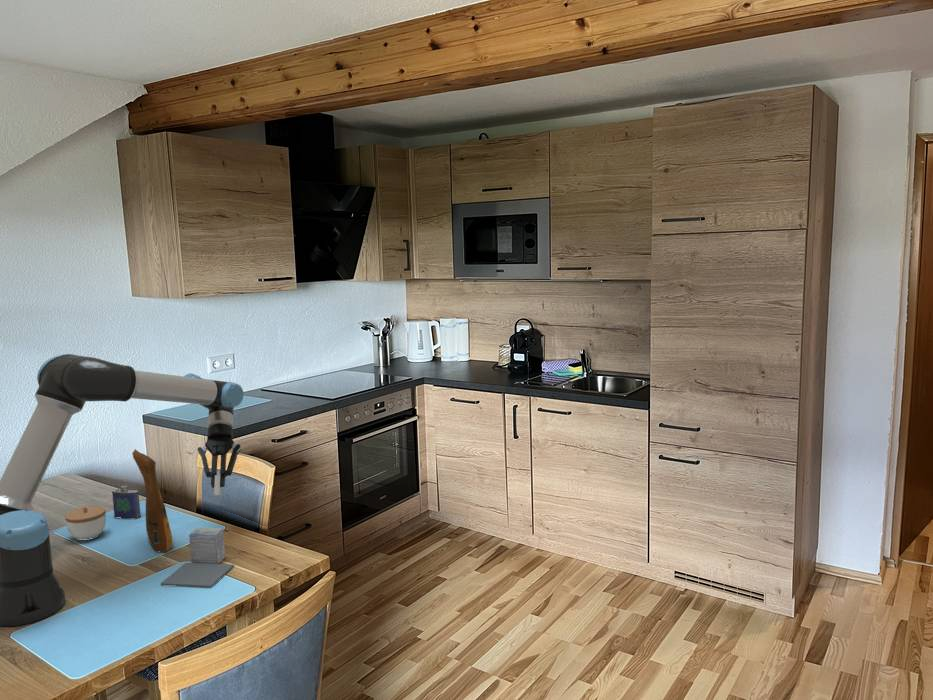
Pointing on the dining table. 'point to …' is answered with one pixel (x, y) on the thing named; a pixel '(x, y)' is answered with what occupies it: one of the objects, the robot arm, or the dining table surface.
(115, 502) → the flask
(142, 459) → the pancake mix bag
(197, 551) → the medicine box
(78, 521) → the lidded jar
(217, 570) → the mat
